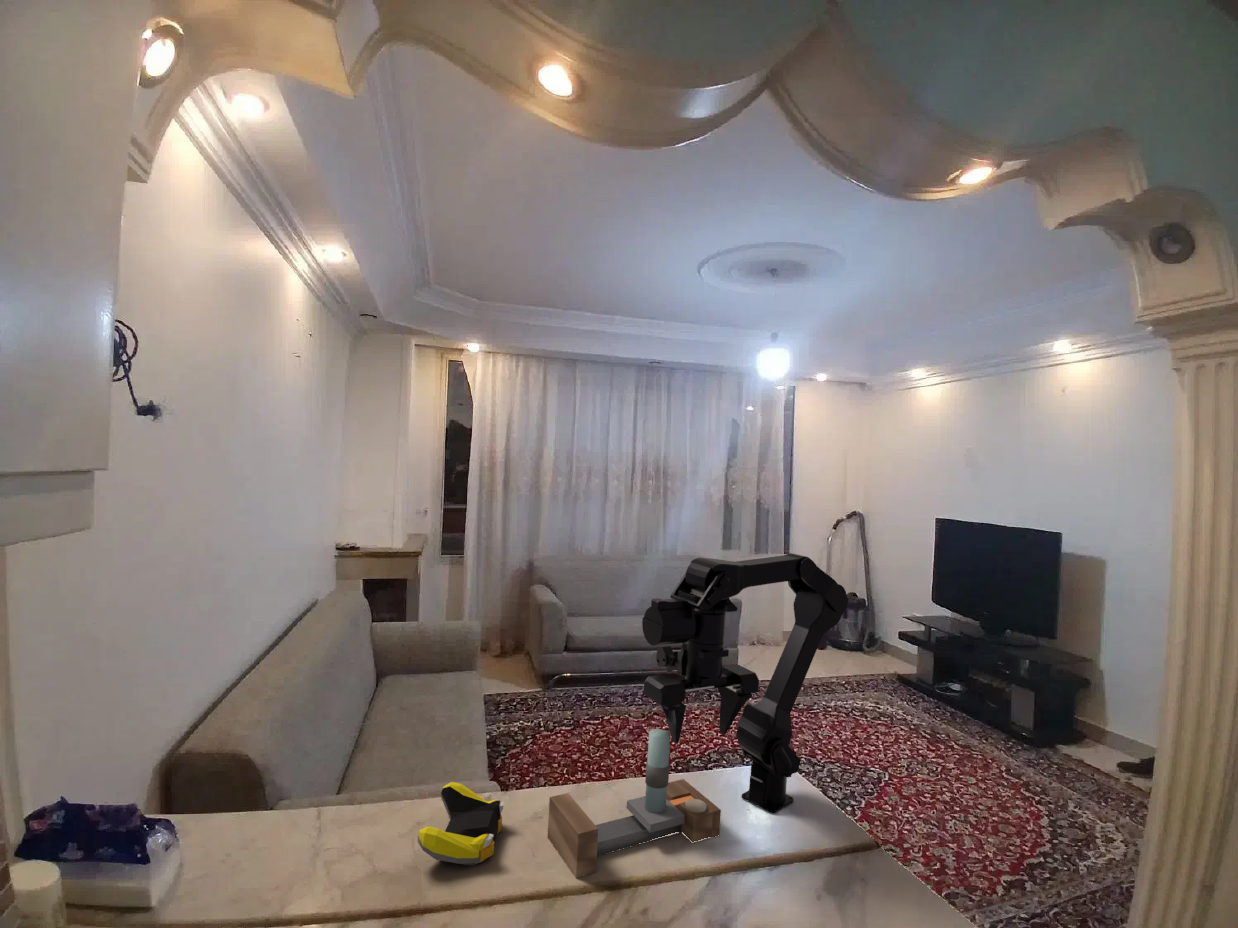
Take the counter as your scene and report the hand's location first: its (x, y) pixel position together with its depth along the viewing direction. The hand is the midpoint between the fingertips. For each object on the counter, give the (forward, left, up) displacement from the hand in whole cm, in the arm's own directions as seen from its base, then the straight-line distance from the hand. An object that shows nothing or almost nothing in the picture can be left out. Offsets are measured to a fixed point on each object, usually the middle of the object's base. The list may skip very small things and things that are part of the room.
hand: (699, 737), depth 102 cm
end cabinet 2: (+1, 0, -13) cm, 13 cm away
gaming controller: (+31, -17, -13) cm, 38 cm away
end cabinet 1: (+21, -6, -13) cm, 25 cm away
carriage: (+7, -2, -11) cm, 13 cm away
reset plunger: (+2, -1, -11) cm, 11 cm away
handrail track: (+11, -3, -13) cm, 17 cm away
